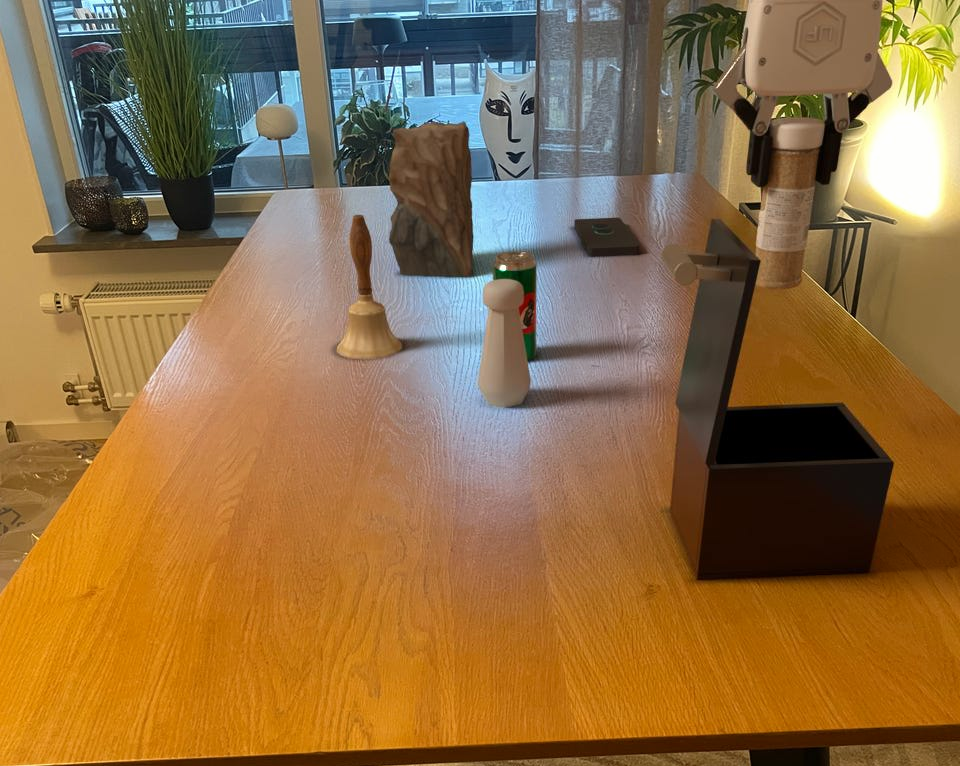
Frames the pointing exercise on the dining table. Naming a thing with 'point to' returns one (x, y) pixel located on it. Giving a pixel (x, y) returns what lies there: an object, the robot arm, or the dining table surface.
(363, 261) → the hand bell
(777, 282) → the sprinkles bottle
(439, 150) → the owl
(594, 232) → the smart home device
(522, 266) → the soda can
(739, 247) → the lid
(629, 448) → the dining table surface
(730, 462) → the box
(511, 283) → the salt shaker
